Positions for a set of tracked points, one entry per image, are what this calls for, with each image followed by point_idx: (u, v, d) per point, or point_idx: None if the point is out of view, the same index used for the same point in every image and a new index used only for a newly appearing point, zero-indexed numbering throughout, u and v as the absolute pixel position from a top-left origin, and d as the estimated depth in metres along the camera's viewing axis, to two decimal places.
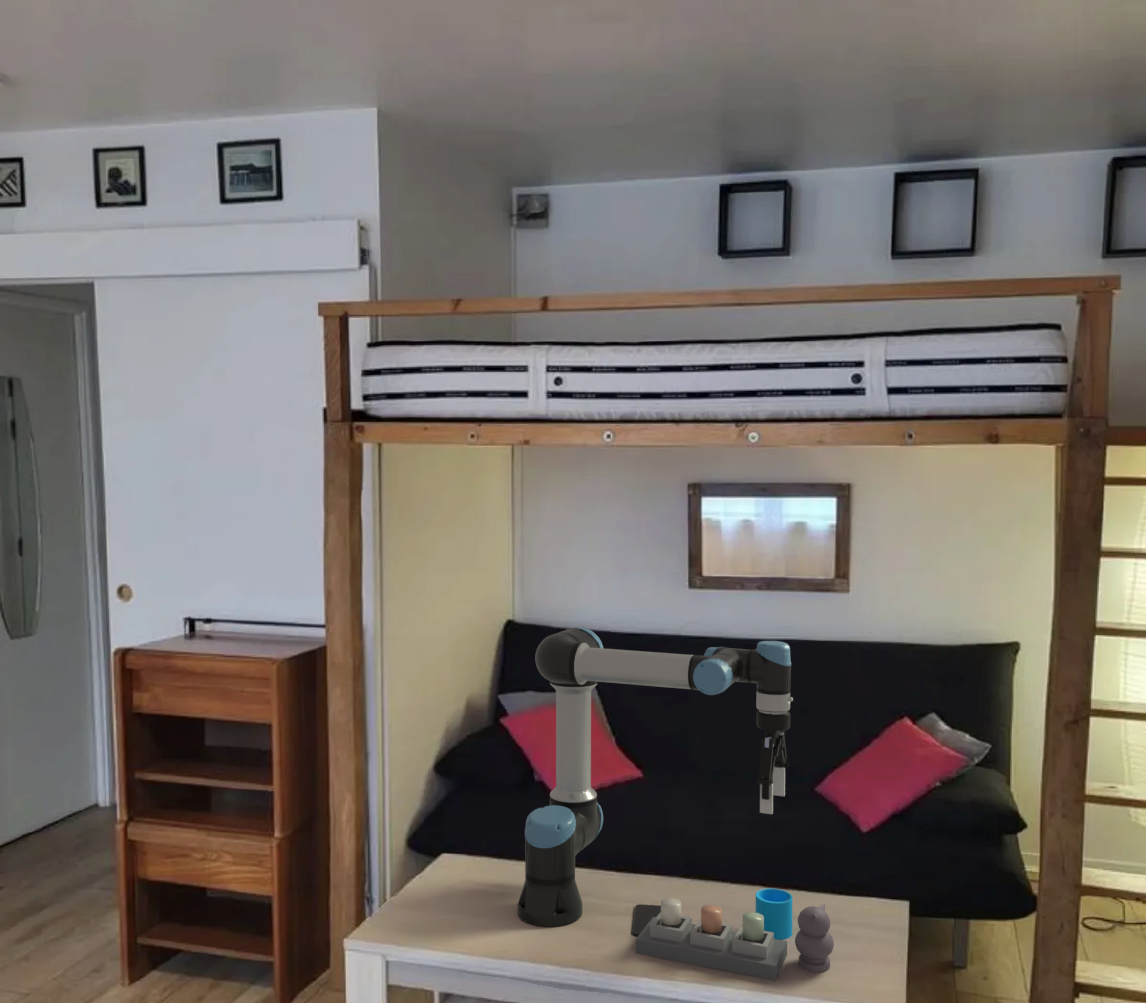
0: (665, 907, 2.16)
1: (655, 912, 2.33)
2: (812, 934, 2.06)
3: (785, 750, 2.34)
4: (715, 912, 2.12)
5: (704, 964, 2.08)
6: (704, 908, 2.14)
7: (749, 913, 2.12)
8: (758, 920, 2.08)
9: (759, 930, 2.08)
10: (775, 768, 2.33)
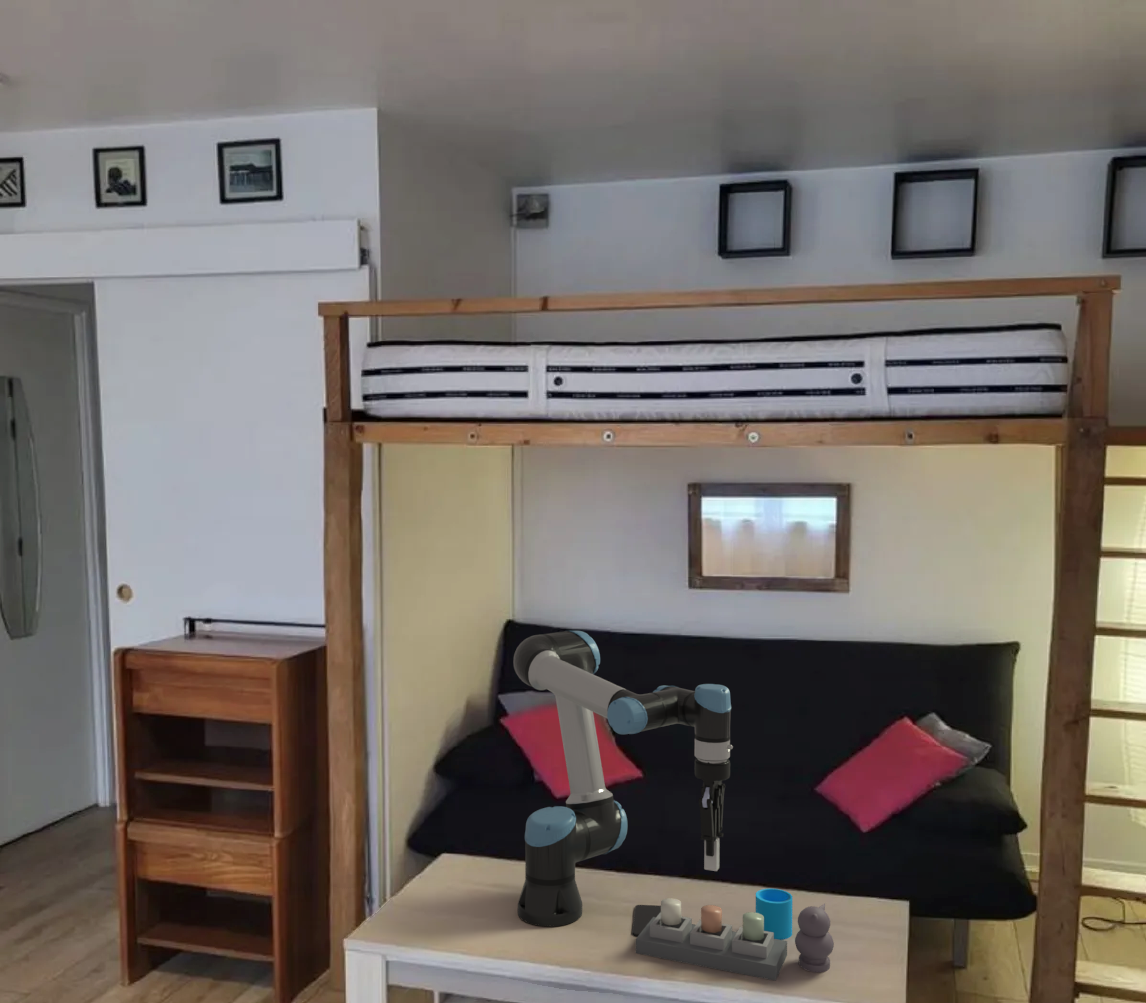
0: (665, 907, 2.16)
1: (655, 912, 2.33)
2: (812, 934, 2.06)
3: (722, 815, 2.17)
4: (715, 912, 2.12)
5: (704, 964, 2.08)
6: (704, 908, 2.14)
7: (749, 913, 2.12)
8: (758, 920, 2.08)
9: (759, 930, 2.08)
10: None
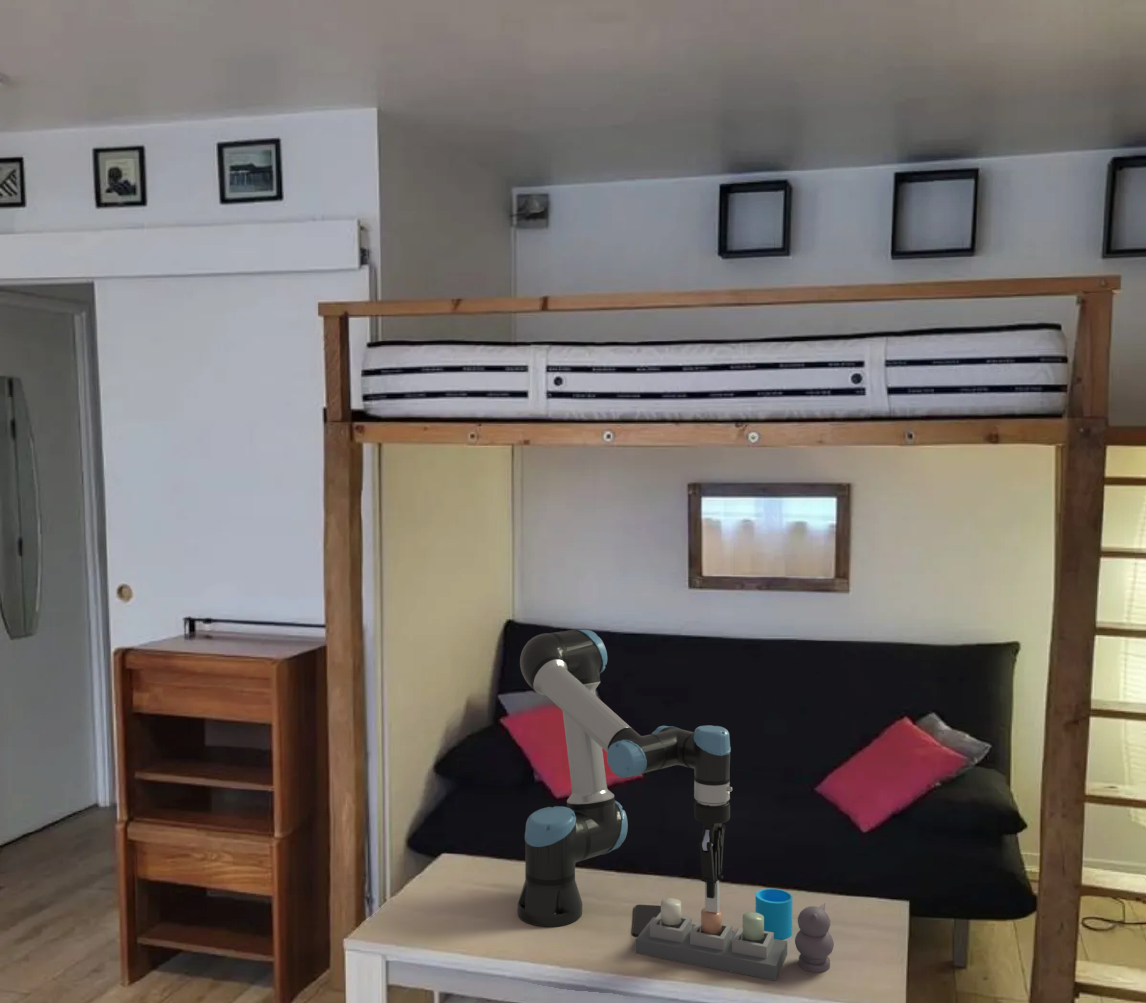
0: (665, 907, 2.16)
1: (655, 912, 2.33)
2: (812, 934, 2.06)
3: (722, 857, 2.16)
4: (715, 914, 2.12)
5: (704, 964, 2.08)
6: (704, 910, 2.14)
7: (749, 913, 2.12)
8: (758, 920, 2.08)
9: (759, 930, 2.08)
10: None
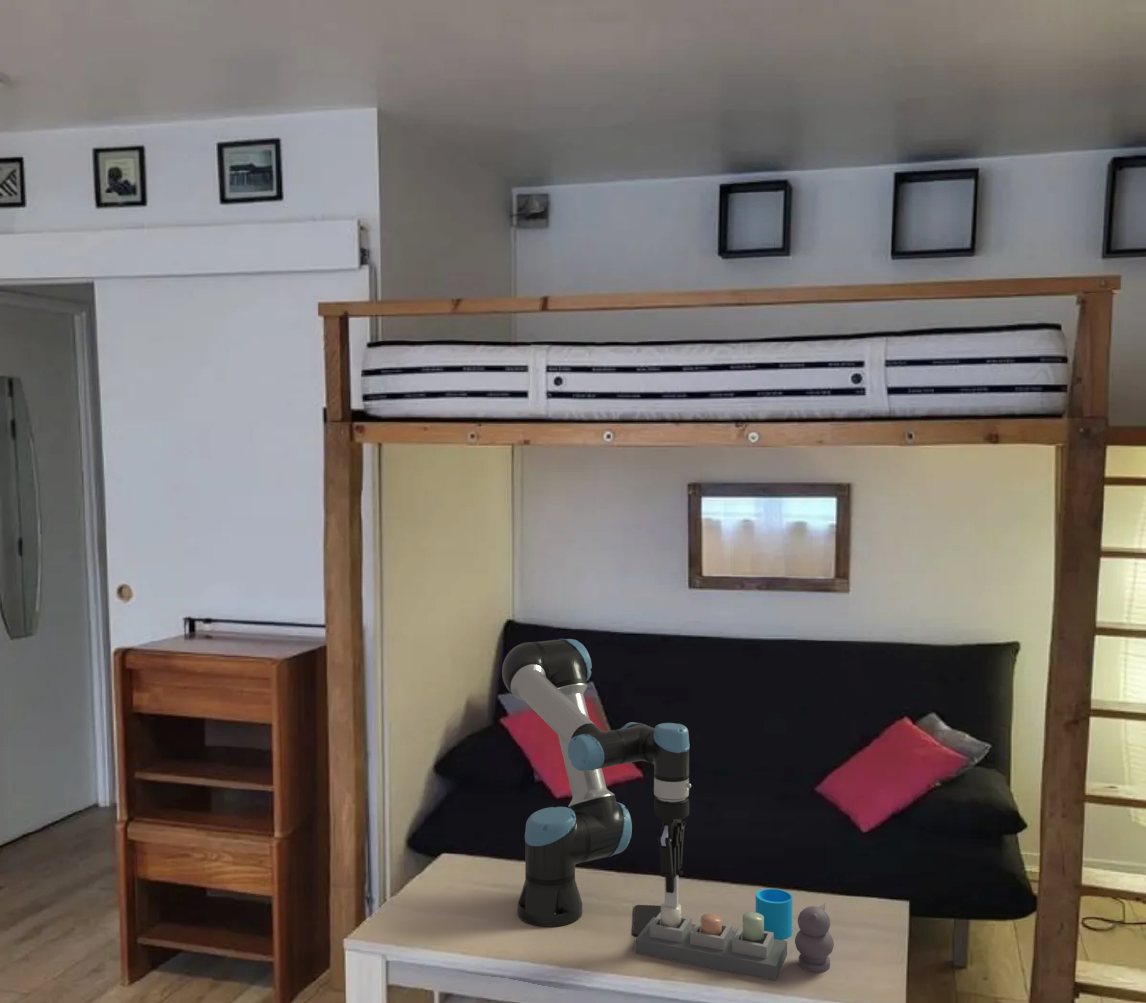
0: (665, 911, 2.16)
1: (655, 912, 2.33)
2: (812, 934, 2.06)
3: (681, 852, 2.20)
4: (715, 920, 2.12)
5: (704, 964, 2.08)
6: (704, 917, 2.14)
7: (749, 913, 2.12)
8: (758, 920, 2.08)
9: (759, 930, 2.08)
10: None
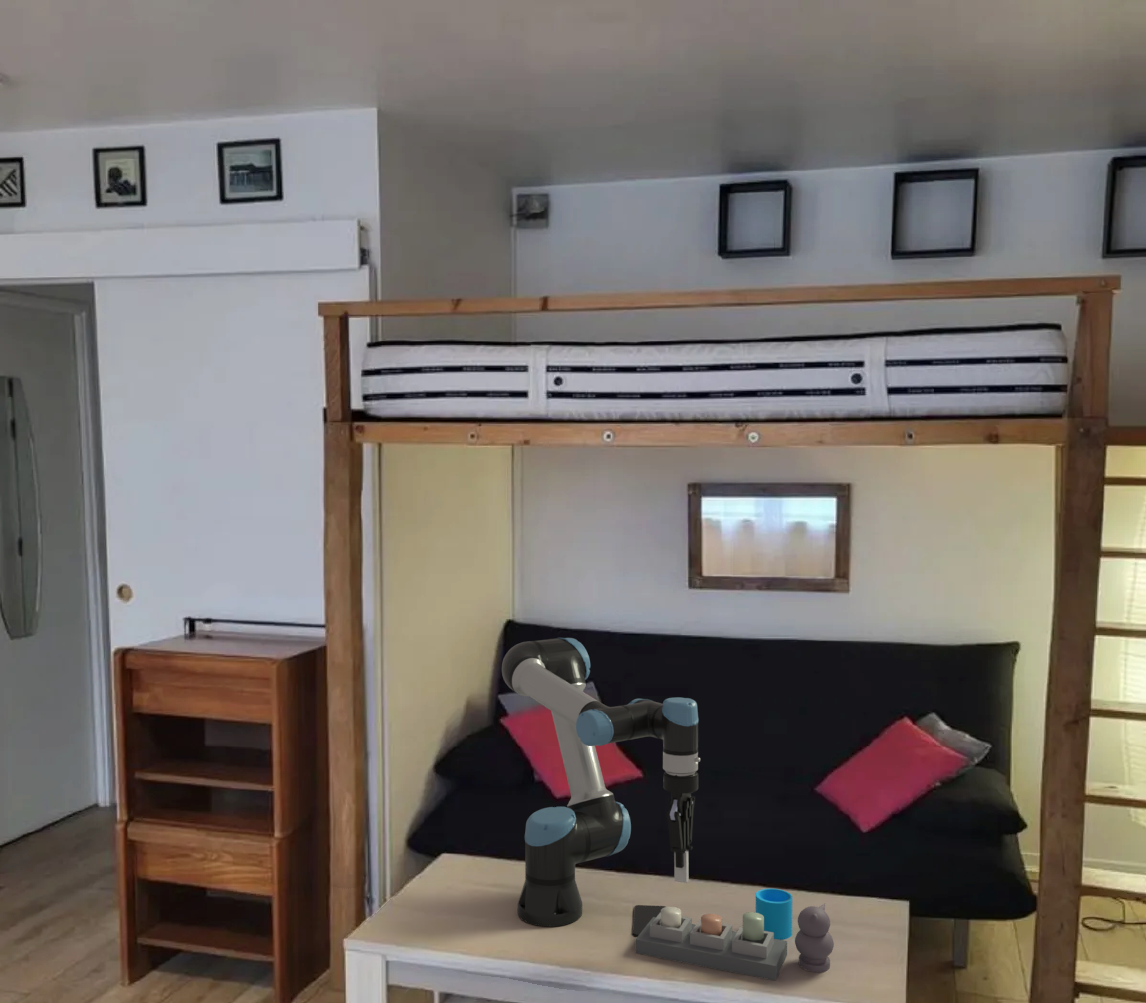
0: (665, 916, 2.16)
1: (655, 912, 2.33)
2: (812, 934, 2.06)
3: (691, 827, 2.19)
4: (715, 920, 2.12)
5: (704, 964, 2.08)
6: (704, 917, 2.14)
7: (749, 913, 2.12)
8: (758, 920, 2.08)
9: (759, 930, 2.08)
10: None
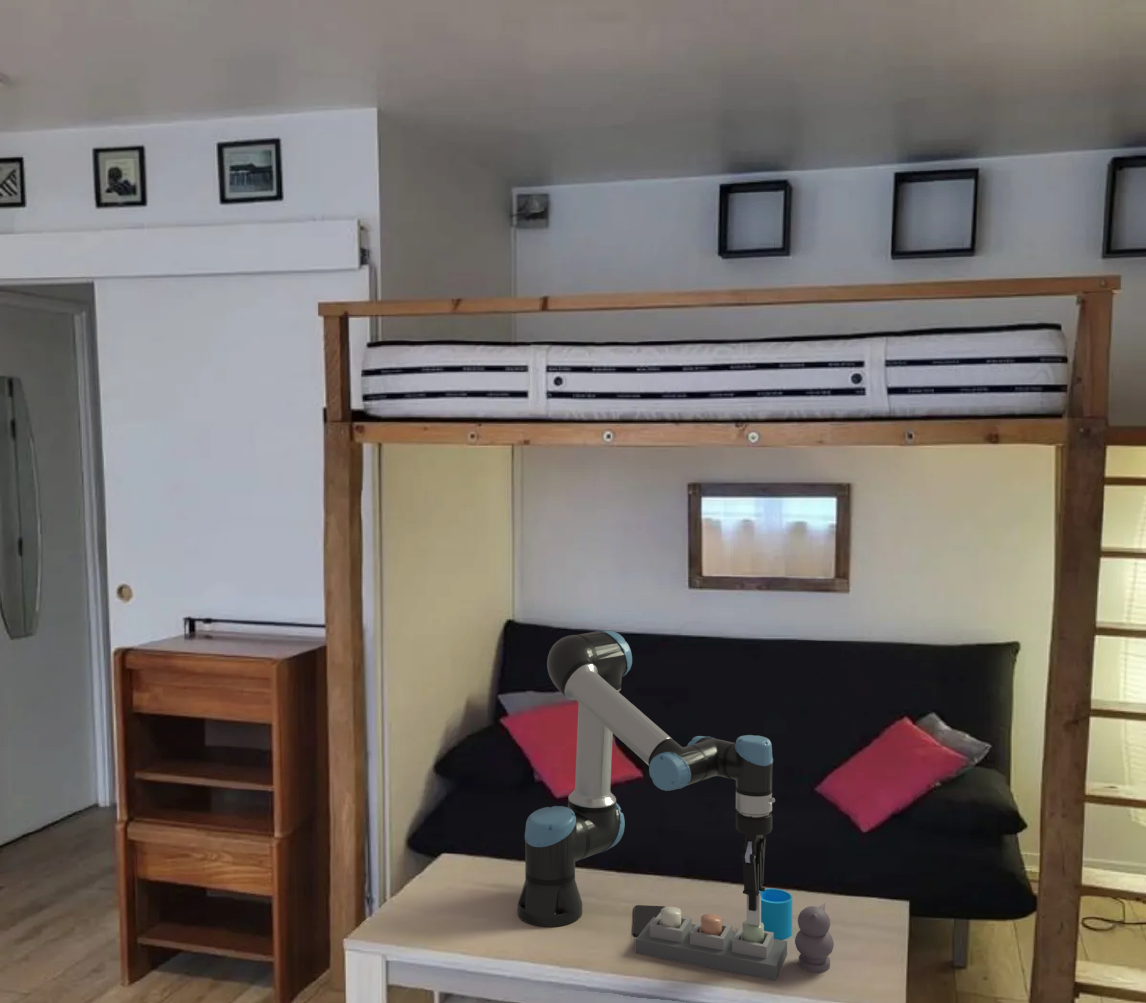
0: (665, 916, 2.16)
1: (655, 912, 2.33)
2: (812, 934, 2.06)
3: (763, 868, 2.13)
4: (715, 920, 2.12)
5: (704, 964, 2.08)
6: (704, 917, 2.14)
7: None
8: (758, 928, 2.09)
9: (759, 938, 2.08)
10: None
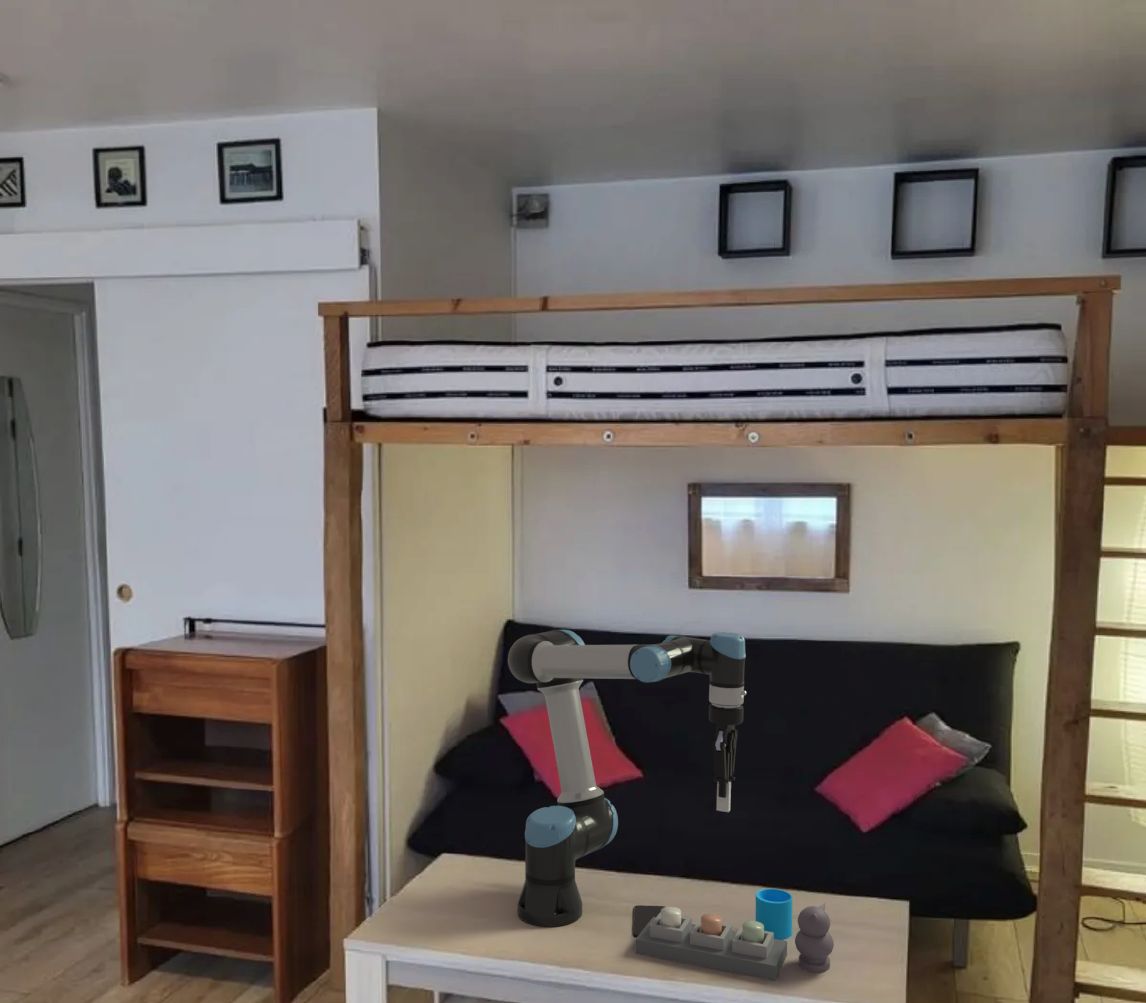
0: (665, 916, 2.16)
1: (654, 912, 2.33)
2: (812, 934, 2.06)
3: (734, 759, 2.23)
4: (715, 920, 2.12)
5: (704, 964, 2.08)
6: (704, 917, 2.14)
7: (749, 921, 2.12)
8: (758, 929, 2.09)
9: (759, 939, 2.08)
10: None
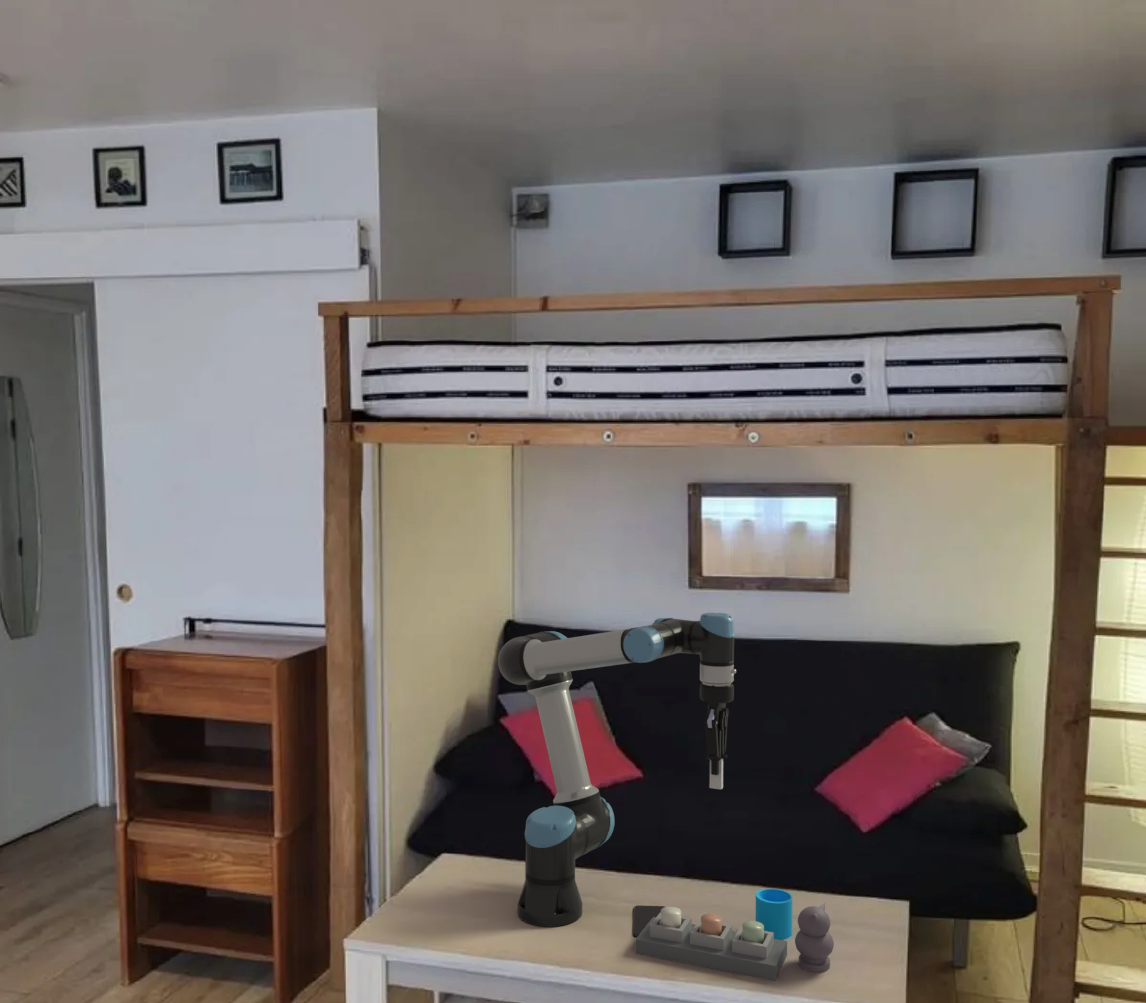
0: (665, 916, 2.16)
1: (654, 913, 2.33)
2: (812, 934, 2.06)
3: (725, 738, 2.27)
4: (715, 920, 2.12)
5: (704, 964, 2.08)
6: (704, 917, 2.14)
7: (749, 921, 2.12)
8: (758, 929, 2.09)
9: (759, 939, 2.08)
10: None
